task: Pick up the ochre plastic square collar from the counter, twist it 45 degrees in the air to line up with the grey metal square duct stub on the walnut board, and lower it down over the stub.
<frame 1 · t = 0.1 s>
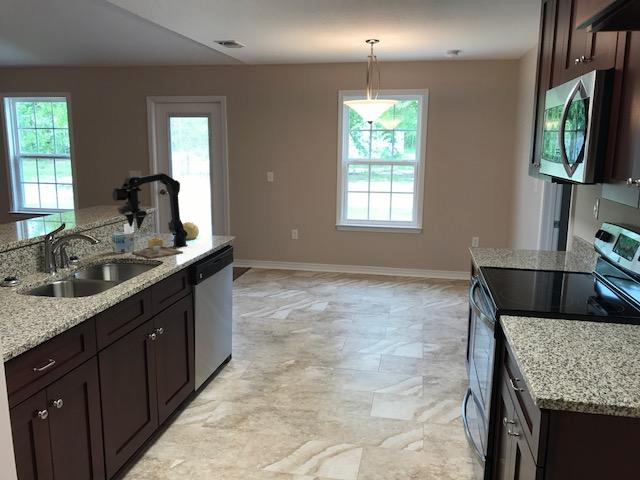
hand: (134, 227, 284), 15 cm above the countertop, tool pointing down, fingers open, 9 cm apart
duct stub: (157, 254, 283), resting on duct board
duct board: (157, 253, 287), on the countertop
light bulb box: (124, 252, 291), on the countertop
collar: (155, 247, 302), on the countertop
sculpture: (189, 238, 332), on the countertop
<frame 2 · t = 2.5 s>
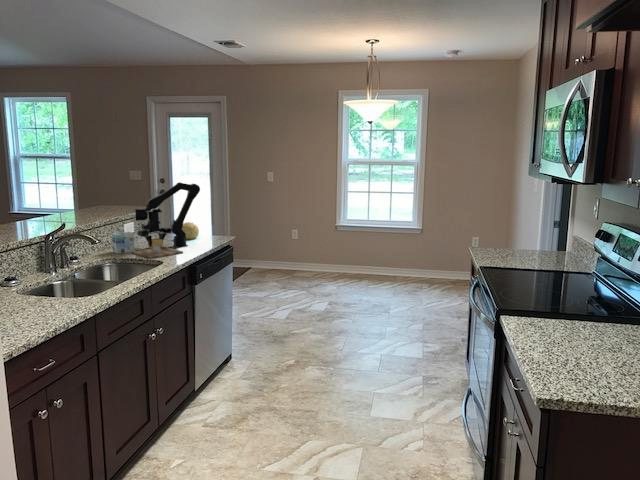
hand: (155, 246, 302), 1 cm above the countertop, tool pointing down, fingers closed on collar, 6 cm apart
collar: (155, 247, 302), on the countertop, touching gripper
everything else where it was.
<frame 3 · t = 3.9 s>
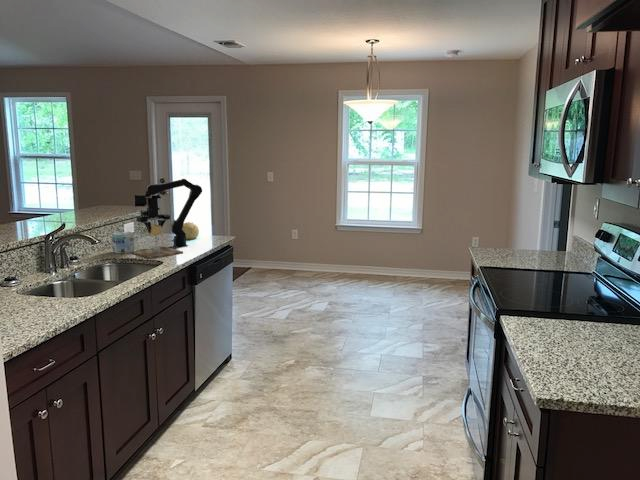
hand: (154, 232, 300), 9 cm above the countertop, tool pointing down, fingers closed on collar, 6 cm apart
collar: (154, 234, 300), point 8 cm above the countertop, touching gripper
everything else where it was.
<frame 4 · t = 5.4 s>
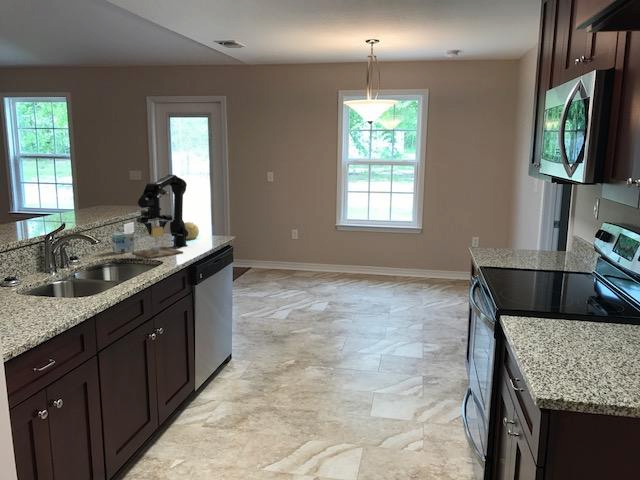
hand: (155, 234, 282), 11 cm above the countertop, tool pointing down, fingers closed on collar, 6 cm apart
collar: (155, 236, 282), point 10 cm above the countertop, touching gripper
everything else where it was.
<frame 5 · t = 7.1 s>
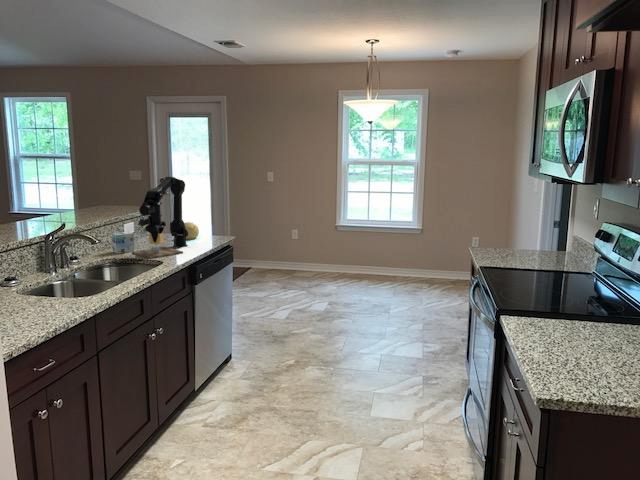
hand: (156, 241, 282), 8 cm above the countertop, tool pointing down, fingers closed on collar, 6 cm apart
collar: (156, 243, 282), point 7 cm above the countertop, touching gripper
everything else where it was.
when the fingers open (3 cm above the countertop, at t = 8.4 s): collar drops 1 cm, resting on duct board.
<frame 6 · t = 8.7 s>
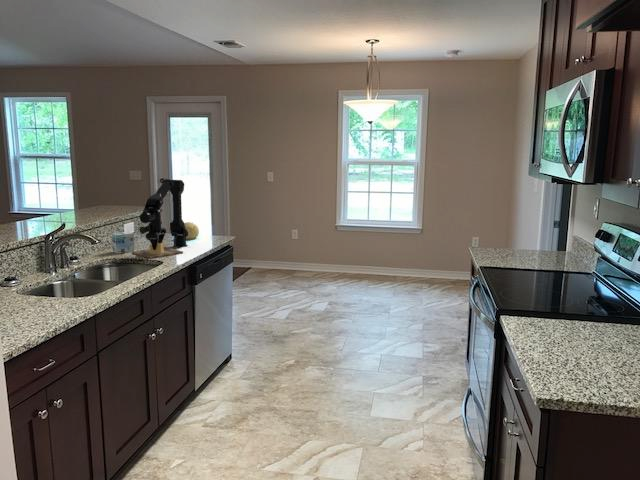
hand: (157, 248, 283), 3 cm above the countertop, tool pointing down, fingers open, 9 cm apart
collar: (157, 252, 283), point 1 cm above the countertop, touching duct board
everything else where it was.
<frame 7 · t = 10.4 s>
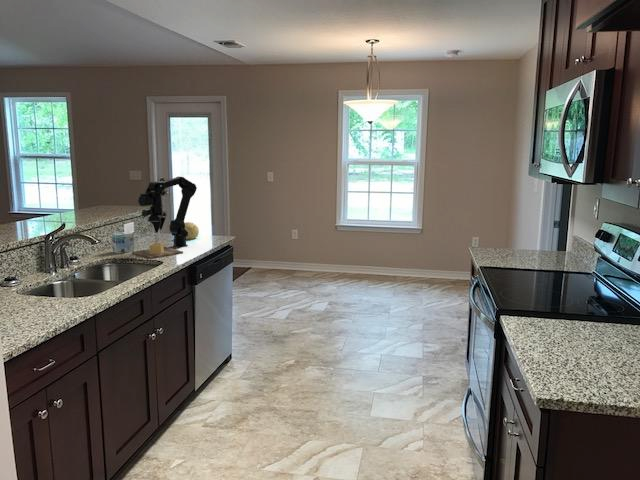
hand: (158, 231, 292), 11 cm above the countertop, tool pointing down, fingers open, 9 cm apart
nothing on the countertop moved.
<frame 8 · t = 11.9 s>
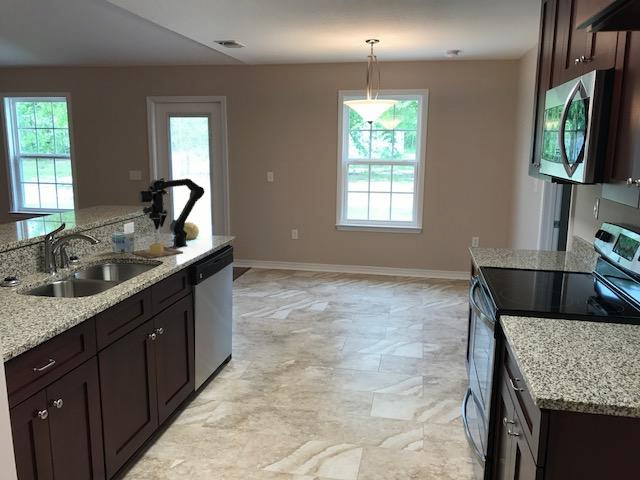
hand: (159, 228, 297), 12 cm above the countertop, tool pointing down, fingers open, 9 cm apart
nothing on the countertop moved.
at the end: collar 0.1 cm from the duct stub (horizontally); collar point 1.0 cm above the countertop; collar tilted 0° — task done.
